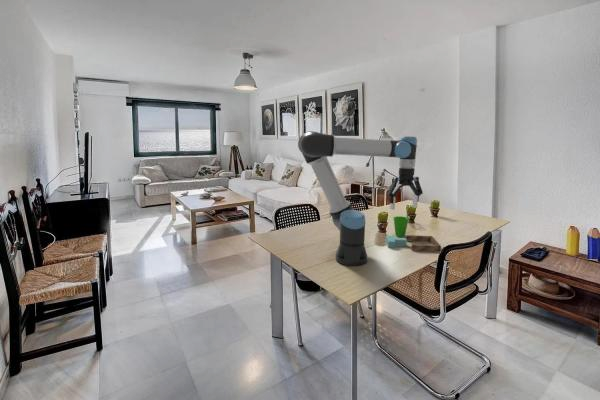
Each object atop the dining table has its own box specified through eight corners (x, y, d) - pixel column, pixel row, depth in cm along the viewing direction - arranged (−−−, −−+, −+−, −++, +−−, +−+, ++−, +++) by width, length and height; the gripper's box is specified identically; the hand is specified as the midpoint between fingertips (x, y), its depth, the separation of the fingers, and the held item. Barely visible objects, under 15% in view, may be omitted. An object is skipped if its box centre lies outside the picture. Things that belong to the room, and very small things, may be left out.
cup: (409, 235, 194) (410, 217, 192) (406, 239, 186) (407, 220, 184) (394, 233, 198) (395, 215, 196) (390, 237, 190) (391, 218, 188)
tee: (388, 247, 173) (388, 241, 173) (385, 241, 183) (385, 235, 182) (407, 248, 172) (407, 242, 171) (403, 242, 182) (404, 236, 181)
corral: (411, 250, 169) (412, 245, 168) (405, 240, 185) (405, 235, 184) (440, 251, 167) (440, 246, 166) (431, 241, 183) (432, 235, 182)
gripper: (389, 168, 157) (386, 211, 161) (432, 167, 165) (428, 208, 169) (381, 167, 164) (378, 208, 168) (422, 166, 172) (419, 205, 176)
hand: (403, 208), depth 169 cm, fingers open, 13 cm apart
